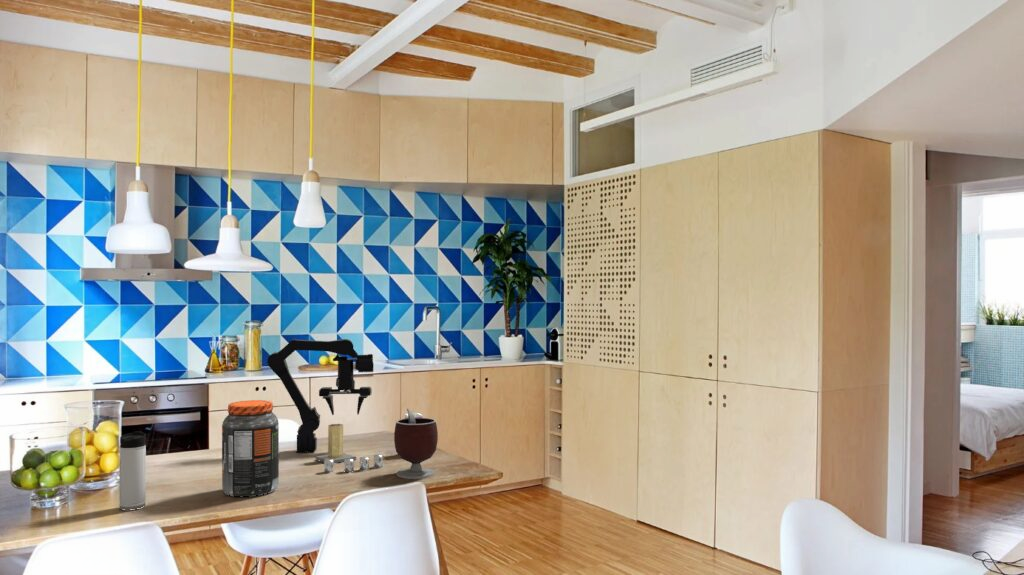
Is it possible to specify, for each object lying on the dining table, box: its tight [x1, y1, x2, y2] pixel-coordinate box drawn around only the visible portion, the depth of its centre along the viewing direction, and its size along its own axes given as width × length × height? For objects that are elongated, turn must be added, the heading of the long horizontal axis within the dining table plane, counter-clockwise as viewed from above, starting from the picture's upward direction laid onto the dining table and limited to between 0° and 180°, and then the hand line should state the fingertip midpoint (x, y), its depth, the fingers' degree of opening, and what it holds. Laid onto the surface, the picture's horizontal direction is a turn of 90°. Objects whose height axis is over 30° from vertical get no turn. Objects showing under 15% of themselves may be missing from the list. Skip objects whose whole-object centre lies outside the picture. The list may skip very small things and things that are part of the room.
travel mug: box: [118, 431, 147, 510], centre depth 200 cm, size 6×7×20 cm
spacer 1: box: [323, 459, 335, 473], centre depth 240 cm, size 3×3×4 cm
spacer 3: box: [359, 456, 370, 471], centre depth 244 cm, size 3×3×4 cm
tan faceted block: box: [327, 423, 344, 458], centre depth 258 cm, size 4×5×11 cm
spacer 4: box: [373, 453, 384, 469], centre depth 247 cm, size 3×3×4 cm
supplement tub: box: [221, 399, 280, 498], centre depth 217 cm, size 16×16×26 cm
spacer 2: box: [343, 458, 355, 473], centre depth 241 cm, size 3×3×4 cm
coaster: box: [315, 452, 357, 464], centre depth 258 cm, size 10×10×1 cm
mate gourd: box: [393, 408, 439, 480], centre depth 238 cm, size 16×14×20 cm
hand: (345, 414), depth 276 cm, fingers open, 9 cm apart
